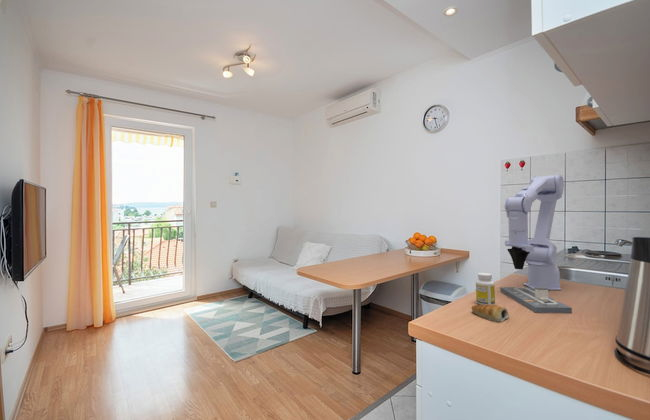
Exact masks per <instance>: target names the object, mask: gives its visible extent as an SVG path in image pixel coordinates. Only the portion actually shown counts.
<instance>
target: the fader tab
mask: <svg viewBox="0 0 650 420" xmlns="http://www.w3.org/2000/svg"><path fill="white" fill-rule="evenodd" d="M534 290H535V298H536V299H538V300H540V301H542V302H548V299H547V298H548V297H549V291H550V290H549V289H548V288H546V287H535V289H534Z"/></svg>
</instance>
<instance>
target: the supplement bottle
mask: <svg viewBox="0 0 650 420" xmlns="http://www.w3.org/2000/svg"><path fill="white" fill-rule="evenodd" d="M477 278H478V279H477V280H476V281H475V294H476V295H475V296H476V297H475V298H476V299H475V300H476V303H477V305H483V304H489V305H491V304H493V305H496V291H495V286H496V285H495V282H494V281H493V280H492V279H493V275H492V273H489V272H488V273H487V272H478V273H477Z"/></svg>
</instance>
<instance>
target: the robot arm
mask: <svg viewBox="0 0 650 420" xmlns="http://www.w3.org/2000/svg"><path fill="white" fill-rule="evenodd" d="M564 181H565V180H564V177H563V176H562V175H561V174H556V175H543V176H541V175H540V176H533V177H531V178H530V180H529V186H526V187H525V186H524V187H522V188H521V189H520V190H519V191H518V192H517V193H516V194H515V195H514V196H510V197H509V198H506V199H505V203H504V209H505V212H506V218H508V240H504V246H505V247H509V248H507V253H509V255H510V257H511V261H512V264H513V267H514V269H515V270H523V269H524V268H525V267H524V266H525V264H527V282H524V283H523V286H526V287H529V288H531V289H534V290H535V287H546V288H548V289H549V290H548V291H551V290H554V291H558V290H559V291H561V290H562V288H561V281H560V280H561V273H560V269H559V267H558V266H557V265H556V261H557V258H558V254H557V250H558V249H557V246H556V244H555V243H554V242H552V241H550V238H551V237H550V236H551V233H552V227H553V221H554V215H555V212H556V205H557V201H558V200H560V199H561V198H563V195H564V194H563V193H564V188H565V182H564ZM536 200H539V201H540V204H539V209H538V215H537V220H536V225H535V231H534V236H533V237H532V238H531V239H529V233H528V232H529V219H528V217H529V216H528V213H530V211H531V208H532V206H533V203H534V202H535V201H536ZM510 247H511V248H510Z"/></svg>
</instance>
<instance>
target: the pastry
mask: <svg viewBox="0 0 650 420" xmlns="http://www.w3.org/2000/svg"><path fill="white" fill-rule="evenodd" d="M470 309H471V311H472V313H473V314H475V315H477V316H479V317H480V318H483V319H485V320H488V321H489V320H490V321H491V322H495V323H501V322H505V320H506V319H508V318H509V316H510V315H509V311H508V309H507V308H506V307H505V306H503V307H502V306H499V305H498V304H497V305H496V304H495V305H493V304H491V305H489V304H483V305H480V304H474V305H472V306H471V308H470Z"/></svg>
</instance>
